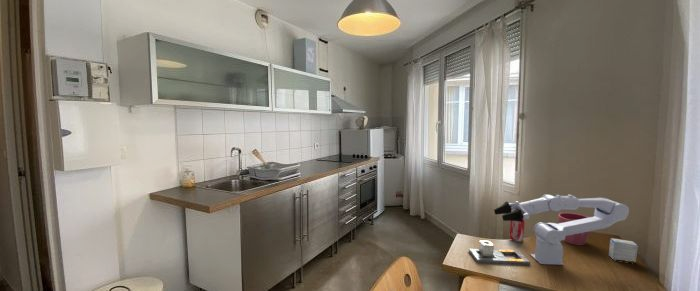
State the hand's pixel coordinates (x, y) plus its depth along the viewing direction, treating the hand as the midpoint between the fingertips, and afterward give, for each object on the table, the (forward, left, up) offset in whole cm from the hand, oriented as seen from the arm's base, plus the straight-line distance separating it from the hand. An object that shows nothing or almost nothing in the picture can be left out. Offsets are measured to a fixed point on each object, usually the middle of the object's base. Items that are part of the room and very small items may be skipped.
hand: (498, 215), depth 123 cm
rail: (-1, 0, -20) cm, 20 cm away
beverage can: (-19, -20, -20) cm, 34 cm away
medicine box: (-56, -3, -20) cm, 60 cm away
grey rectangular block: (+4, 0, -20) cm, 20 cm away
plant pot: (-48, -21, -20) cm, 56 cm away
